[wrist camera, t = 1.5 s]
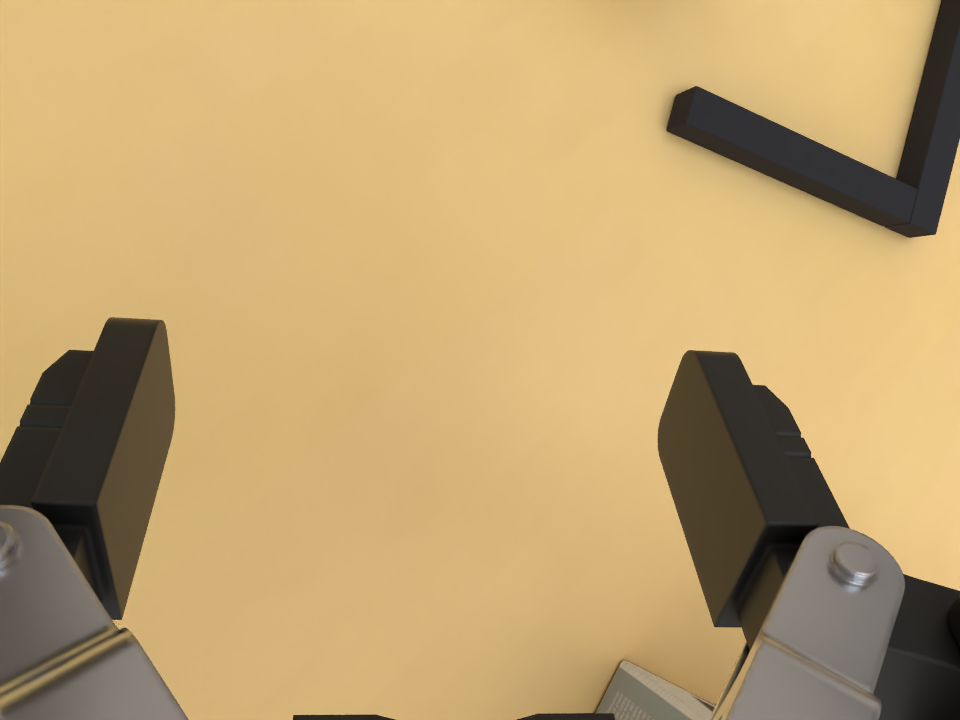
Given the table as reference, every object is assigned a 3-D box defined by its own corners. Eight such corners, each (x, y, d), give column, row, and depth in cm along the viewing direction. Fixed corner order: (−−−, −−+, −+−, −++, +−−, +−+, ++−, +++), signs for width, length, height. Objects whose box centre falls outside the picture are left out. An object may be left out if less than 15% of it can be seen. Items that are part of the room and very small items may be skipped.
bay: (665, 131, 36) (685, 123, 35) (758, -209, 37) (782, -231, 36) (909, 238, 41) (936, 235, 39) (986, -68, 41) (1015, -82, 40)
